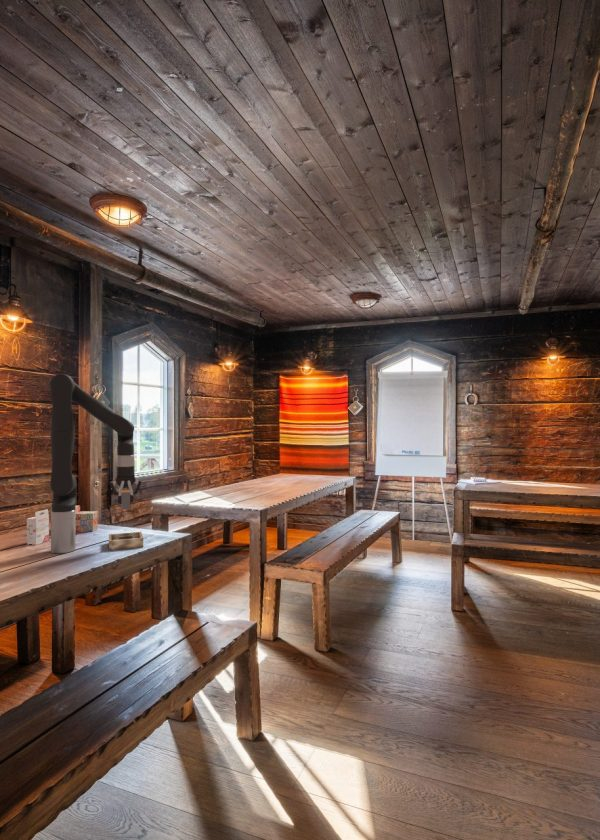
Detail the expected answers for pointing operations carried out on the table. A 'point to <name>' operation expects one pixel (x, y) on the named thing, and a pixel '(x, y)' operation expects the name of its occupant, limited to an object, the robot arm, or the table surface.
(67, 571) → the table surface
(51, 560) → the table surface
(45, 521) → the ink cartridge box
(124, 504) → the connector
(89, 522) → the multicoloured rectangular block
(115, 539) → the box
